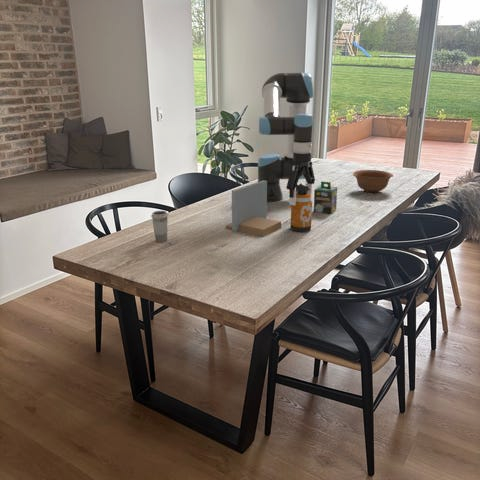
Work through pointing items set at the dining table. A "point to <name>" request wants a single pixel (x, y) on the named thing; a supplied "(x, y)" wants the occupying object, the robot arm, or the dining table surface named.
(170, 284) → the dining table surface
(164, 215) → the cup
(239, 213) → the wooden stand with panel
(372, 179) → the bowl
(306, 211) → the canister
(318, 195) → the chalk box
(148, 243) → the dining table surface
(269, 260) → the dining table surface
